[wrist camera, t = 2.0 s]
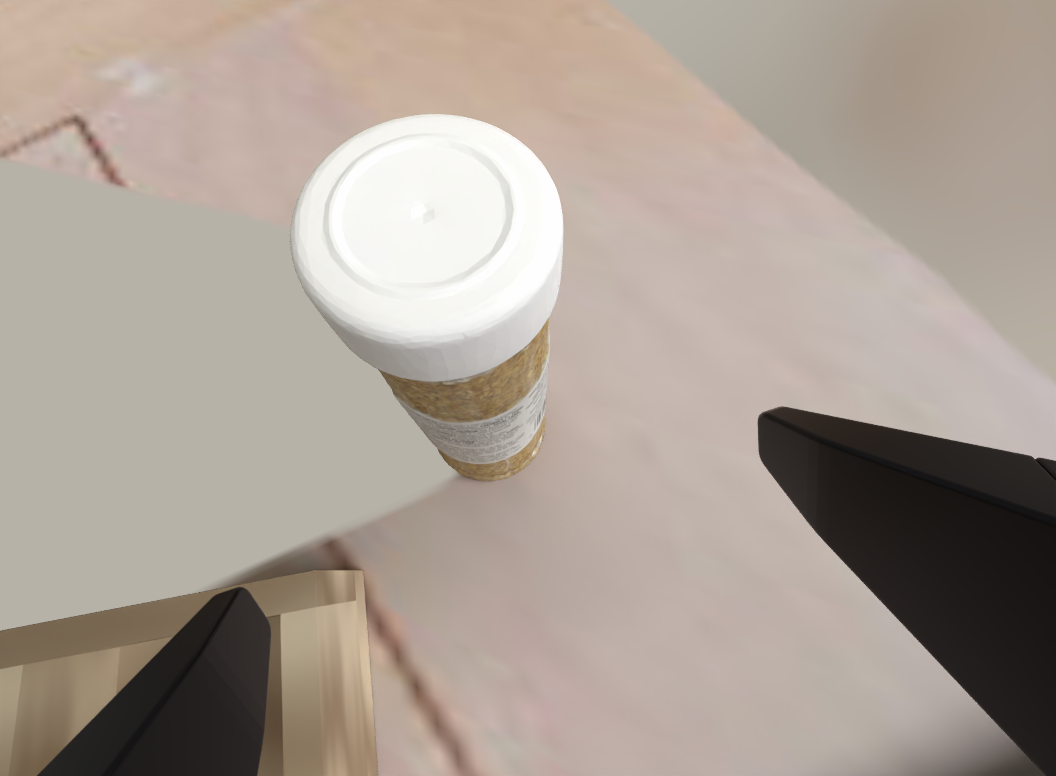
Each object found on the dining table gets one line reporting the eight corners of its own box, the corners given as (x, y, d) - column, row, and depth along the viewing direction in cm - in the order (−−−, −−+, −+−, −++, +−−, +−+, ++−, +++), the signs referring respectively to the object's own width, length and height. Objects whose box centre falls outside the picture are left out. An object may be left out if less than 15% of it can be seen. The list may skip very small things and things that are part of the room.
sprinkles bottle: (459, 362, 22) (355, 74, 9) (561, 395, 21) (601, 138, 9) (416, 463, 20) (225, 287, 8) (524, 501, 20) (508, 379, 7)
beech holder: (385, 870, 16) (331, 977, 12) (89, 936, 16) (-76, 1072, 11) (363, 570, 19) (314, 570, 15) (114, 618, 19) (-9, 632, 14)
